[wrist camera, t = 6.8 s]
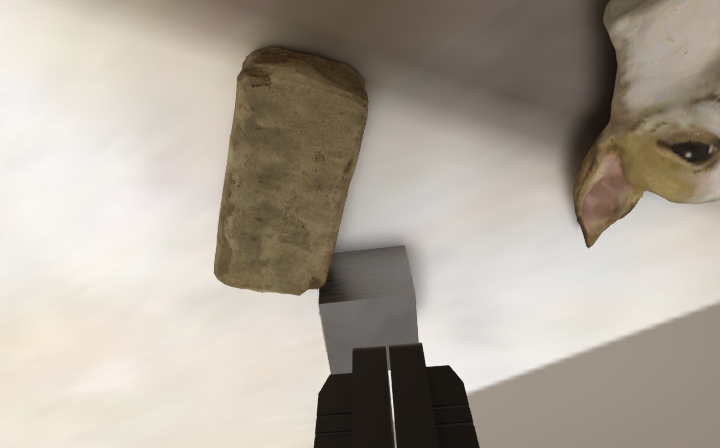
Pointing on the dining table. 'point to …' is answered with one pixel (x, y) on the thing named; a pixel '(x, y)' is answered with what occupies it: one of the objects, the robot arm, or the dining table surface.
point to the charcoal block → (367, 304)
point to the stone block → (288, 170)
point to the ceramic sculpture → (656, 112)
